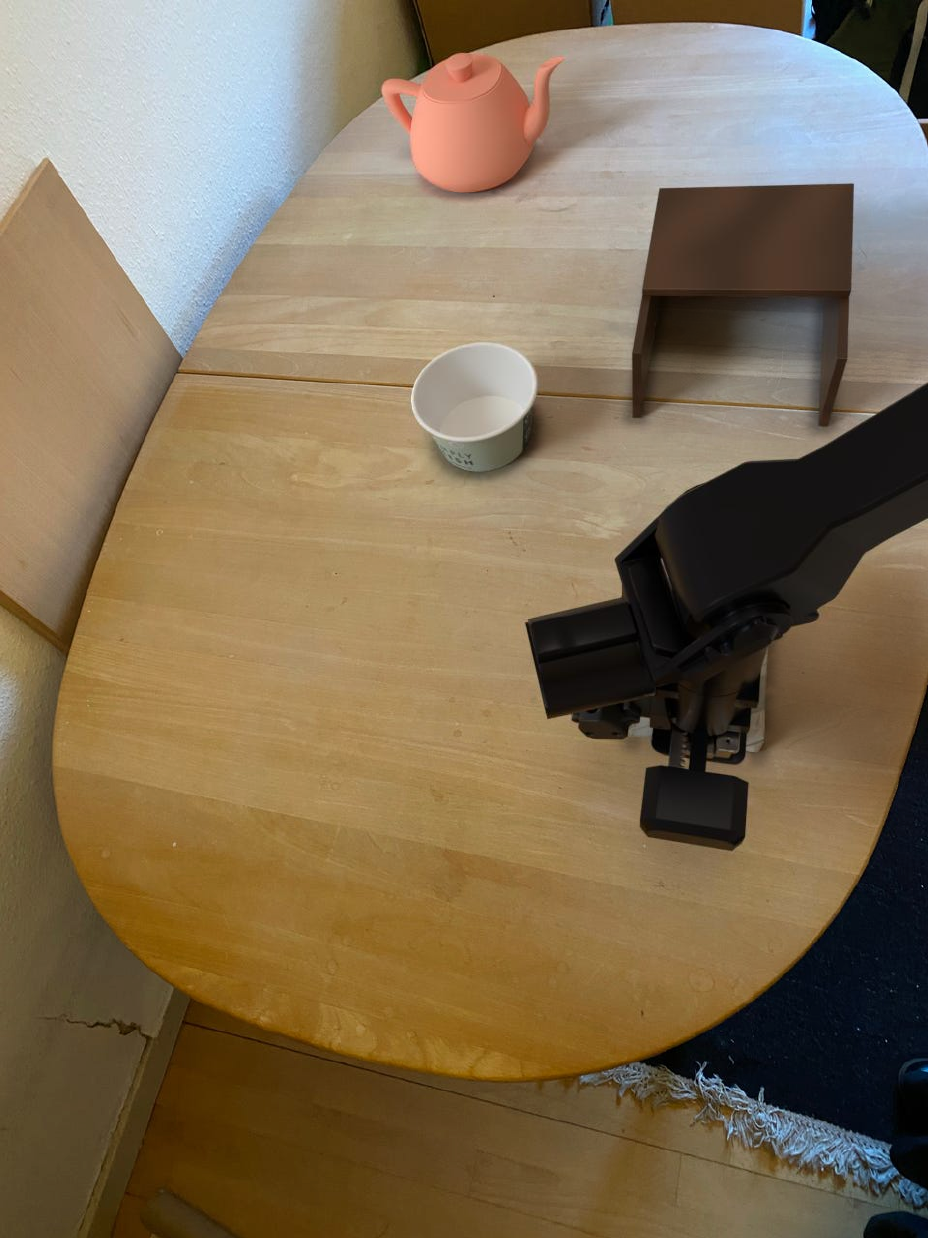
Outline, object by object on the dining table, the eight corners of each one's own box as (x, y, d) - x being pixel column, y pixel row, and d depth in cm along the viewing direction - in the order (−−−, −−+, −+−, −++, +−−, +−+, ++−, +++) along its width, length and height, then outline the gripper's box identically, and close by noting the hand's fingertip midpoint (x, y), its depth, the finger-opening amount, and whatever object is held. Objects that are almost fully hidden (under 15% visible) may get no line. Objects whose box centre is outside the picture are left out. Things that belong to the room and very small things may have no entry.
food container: (405, 463, 83) (387, 420, 78) (460, 376, 87) (447, 329, 82) (511, 498, 79) (502, 454, 73) (564, 404, 83) (559, 356, 77)
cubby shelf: (833, 266, 85) (854, 182, 77) (827, 426, 76) (849, 351, 68) (657, 266, 89) (659, 187, 81) (632, 417, 81) (631, 346, 73)
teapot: (583, 122, 103) (577, 14, 92) (557, 204, 97) (547, 98, 86) (417, 124, 109) (393, 23, 98) (383, 202, 103) (353, 103, 92)
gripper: (595, 509, 54) (603, 620, 68) (548, 784, 46) (568, 848, 60) (775, 522, 52) (746, 635, 65) (758, 817, 44) (729, 876, 57)
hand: (694, 742), depth 62 cm, fingers closed
